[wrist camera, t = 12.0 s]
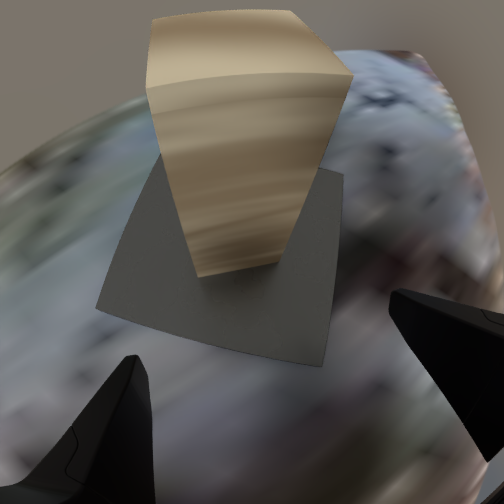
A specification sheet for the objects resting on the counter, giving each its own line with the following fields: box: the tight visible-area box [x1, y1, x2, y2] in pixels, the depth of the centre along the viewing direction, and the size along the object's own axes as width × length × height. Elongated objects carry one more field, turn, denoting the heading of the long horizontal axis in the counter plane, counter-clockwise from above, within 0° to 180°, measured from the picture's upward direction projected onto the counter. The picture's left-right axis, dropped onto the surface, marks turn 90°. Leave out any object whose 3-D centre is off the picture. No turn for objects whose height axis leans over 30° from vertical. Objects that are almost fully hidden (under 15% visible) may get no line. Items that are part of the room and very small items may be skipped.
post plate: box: [96, 154, 343, 367], centre depth 17 cm, size 14×14×4 cm
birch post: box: [146, 10, 354, 278], centre depth 12 cm, size 5×5×13 cm
